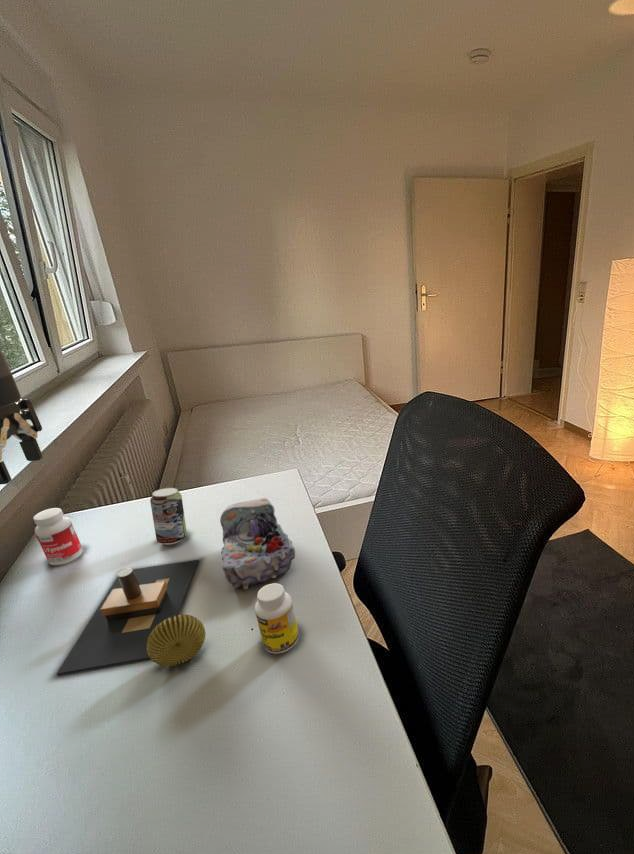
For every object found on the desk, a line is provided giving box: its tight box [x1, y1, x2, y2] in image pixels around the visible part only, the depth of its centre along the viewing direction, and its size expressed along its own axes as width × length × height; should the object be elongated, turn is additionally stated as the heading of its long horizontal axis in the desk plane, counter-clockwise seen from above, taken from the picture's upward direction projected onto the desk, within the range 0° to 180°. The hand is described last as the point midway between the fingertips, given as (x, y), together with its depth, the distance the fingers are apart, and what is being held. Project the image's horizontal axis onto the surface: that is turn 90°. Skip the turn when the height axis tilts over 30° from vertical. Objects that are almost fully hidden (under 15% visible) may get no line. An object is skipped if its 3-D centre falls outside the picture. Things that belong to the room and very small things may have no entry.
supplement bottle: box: [254, 582, 299, 654], centre depth 69 cm, size 6×6×10 cm
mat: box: [56, 559, 200, 676], centre depth 79 cm, size 15×24×1 cm, turn 10°
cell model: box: [219, 497, 296, 590], centre depth 88 cm, size 13×11×20 cm
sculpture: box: [146, 614, 206, 667], centre depth 67 cm, size 8×4×8 cm, turn 121°
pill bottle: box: [32, 507, 84, 566], centre depth 93 cm, size 6×6×11 cm
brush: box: [100, 567, 168, 621], centre depth 77 cm, size 9×5×8 cm, turn 100°
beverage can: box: [149, 487, 188, 546], centre depth 97 cm, size 6×7×12 cm
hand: (20, 471), depth 73 cm, fingers open, 8 cm apart
